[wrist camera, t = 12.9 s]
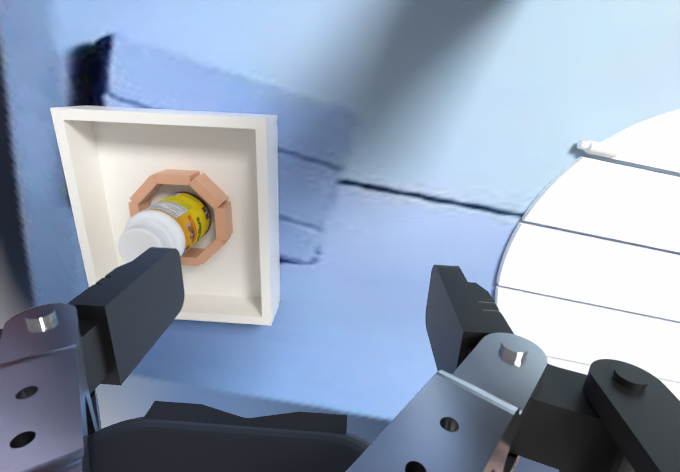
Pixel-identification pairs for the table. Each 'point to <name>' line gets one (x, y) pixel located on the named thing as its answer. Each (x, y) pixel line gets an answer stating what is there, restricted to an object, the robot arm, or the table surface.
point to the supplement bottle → (166, 225)
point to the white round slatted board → (603, 257)
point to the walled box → (181, 176)
